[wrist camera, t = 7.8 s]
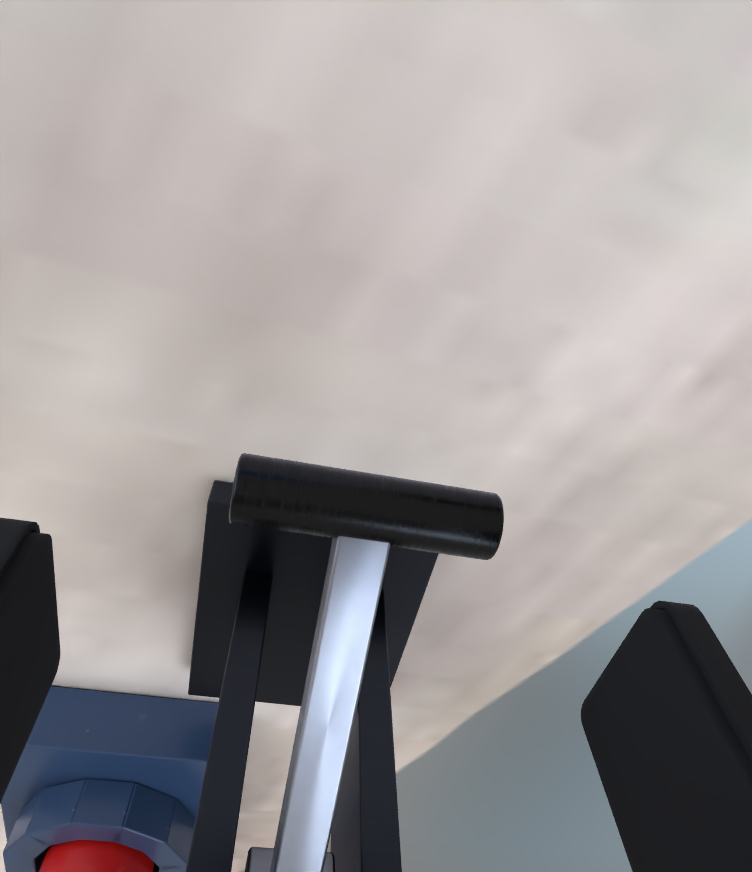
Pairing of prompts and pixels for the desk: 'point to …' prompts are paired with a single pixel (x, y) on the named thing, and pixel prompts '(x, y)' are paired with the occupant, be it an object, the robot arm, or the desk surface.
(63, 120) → the desk surface
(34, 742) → the button box
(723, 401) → the desk surface
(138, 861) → the button
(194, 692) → the bracket
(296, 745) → the lever
